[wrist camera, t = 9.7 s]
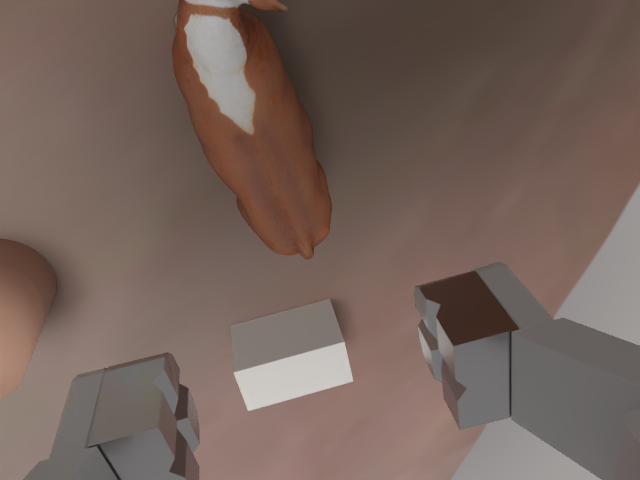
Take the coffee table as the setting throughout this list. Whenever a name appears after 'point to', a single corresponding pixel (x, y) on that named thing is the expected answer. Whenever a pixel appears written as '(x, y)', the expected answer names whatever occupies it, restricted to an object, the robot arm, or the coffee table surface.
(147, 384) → the robot arm
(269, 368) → the off-white brick
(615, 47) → the coffee table surface
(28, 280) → the peach rounded capsule
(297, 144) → the bull figurine
